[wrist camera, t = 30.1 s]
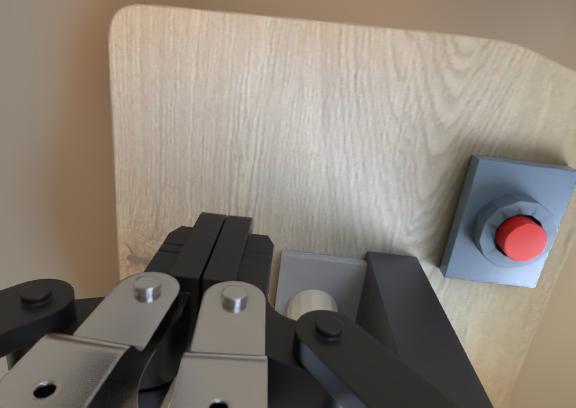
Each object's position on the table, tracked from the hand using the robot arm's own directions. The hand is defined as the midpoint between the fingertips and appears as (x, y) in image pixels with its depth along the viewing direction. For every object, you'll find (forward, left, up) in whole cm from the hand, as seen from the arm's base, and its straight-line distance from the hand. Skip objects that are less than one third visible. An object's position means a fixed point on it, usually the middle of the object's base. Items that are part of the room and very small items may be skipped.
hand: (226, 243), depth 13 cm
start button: (+8, +23, -23) cm, 33 cm away
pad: (+8, +23, -27) cm, 36 cm away
